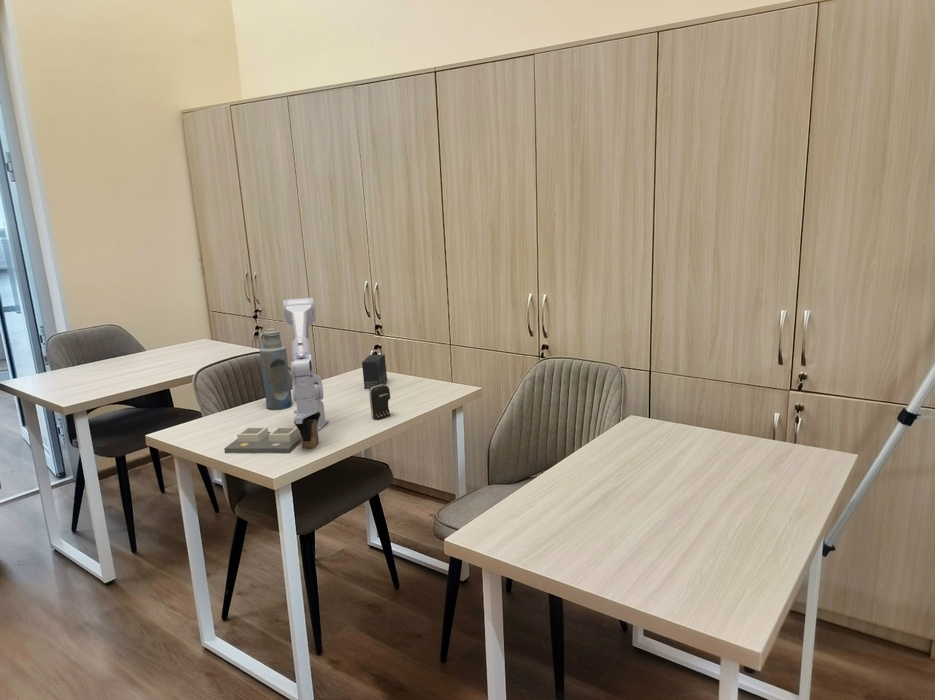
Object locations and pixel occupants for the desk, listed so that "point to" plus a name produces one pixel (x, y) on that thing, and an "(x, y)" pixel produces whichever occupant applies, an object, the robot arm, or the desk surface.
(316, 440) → the walnut peg
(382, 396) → the battery charger
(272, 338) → the bottle
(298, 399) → the robot arm
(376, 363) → the small box
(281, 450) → the socket board
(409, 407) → the desk surface
